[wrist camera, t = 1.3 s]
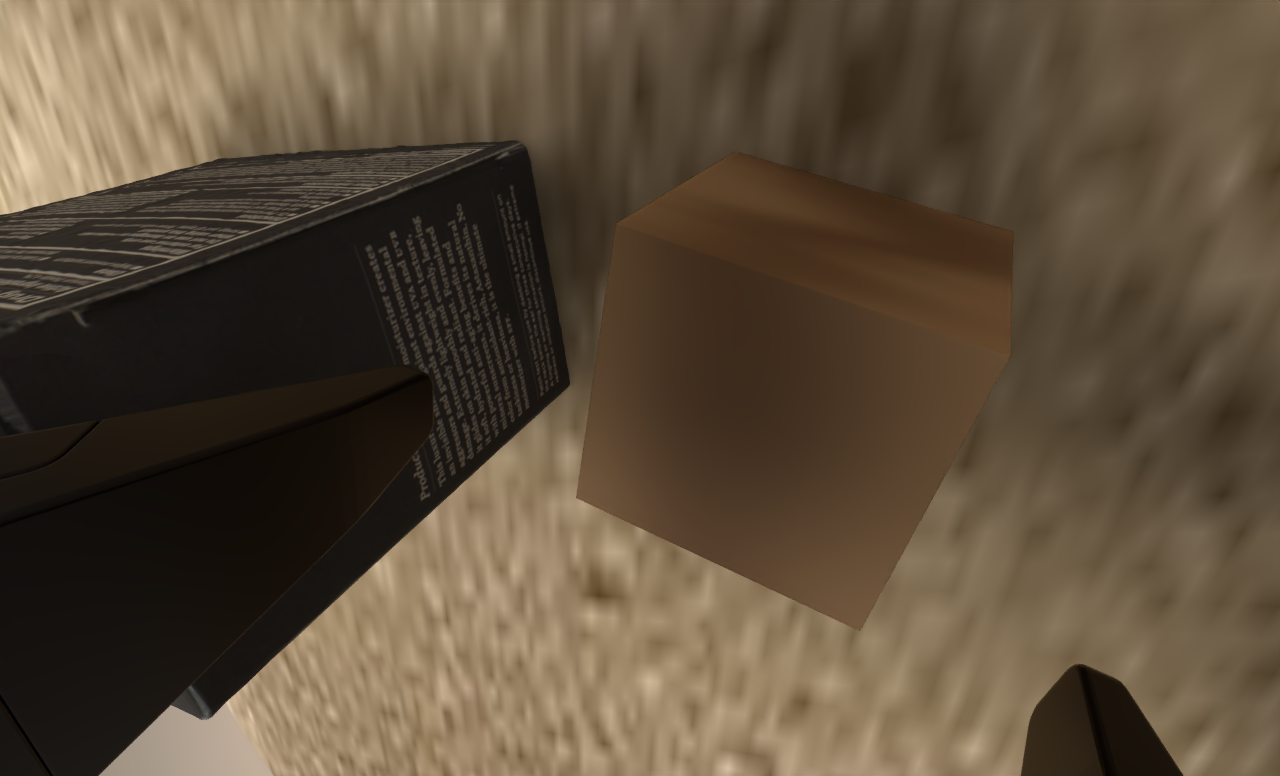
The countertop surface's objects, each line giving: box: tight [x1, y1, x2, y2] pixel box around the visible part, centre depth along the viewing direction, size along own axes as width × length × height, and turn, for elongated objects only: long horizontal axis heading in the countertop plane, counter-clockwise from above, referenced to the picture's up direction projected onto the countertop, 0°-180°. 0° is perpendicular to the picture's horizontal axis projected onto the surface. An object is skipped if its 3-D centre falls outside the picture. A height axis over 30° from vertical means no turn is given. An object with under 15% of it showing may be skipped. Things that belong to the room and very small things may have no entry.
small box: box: [0, 141, 570, 720], centre depth 14 cm, size 11×6×10 cm, turn 98°
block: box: [576, 152, 1013, 631], centre depth 12 cm, size 5×5×5 cm
